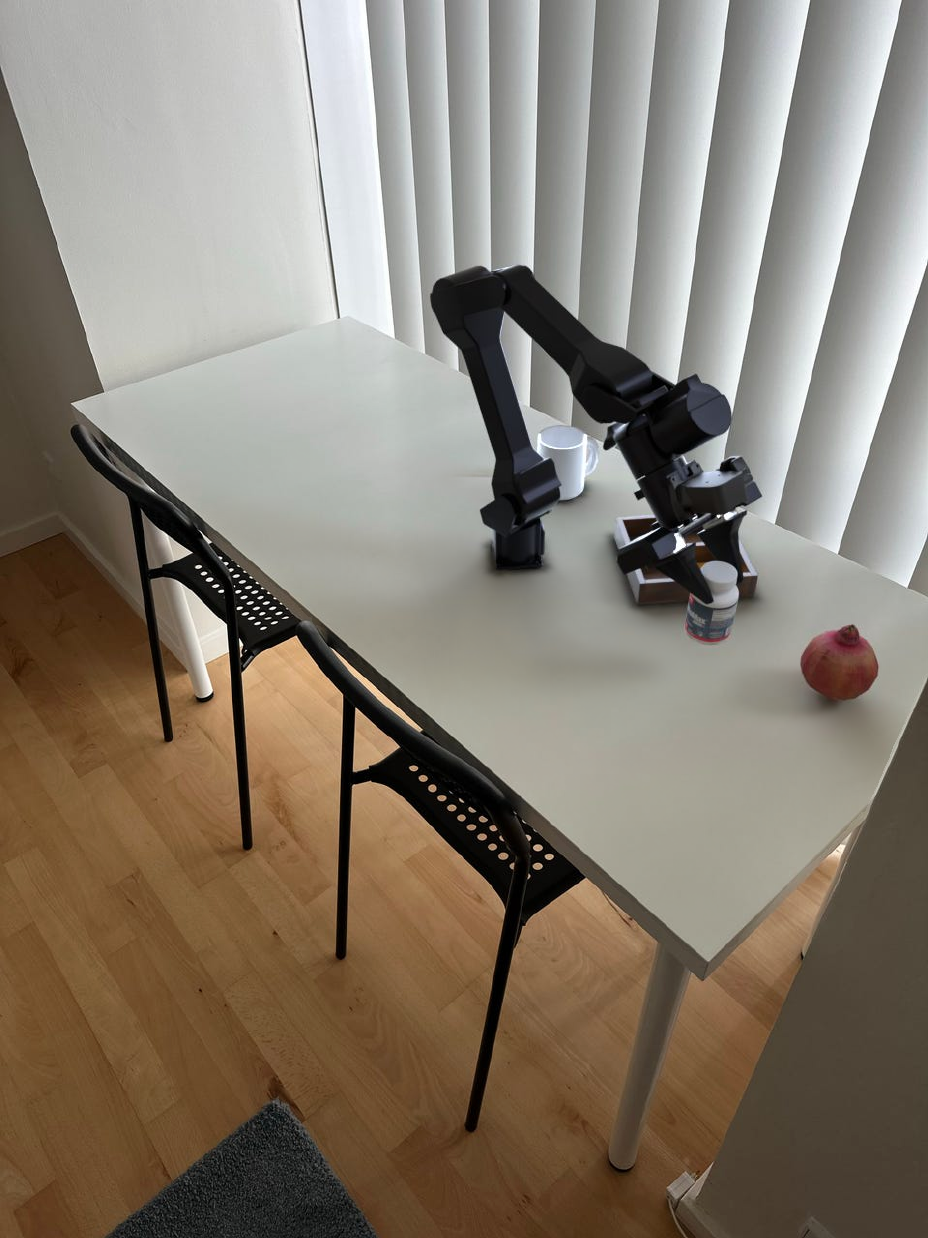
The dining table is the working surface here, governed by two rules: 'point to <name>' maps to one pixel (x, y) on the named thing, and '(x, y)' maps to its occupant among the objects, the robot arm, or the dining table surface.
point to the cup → (569, 456)
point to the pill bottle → (714, 605)
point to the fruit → (839, 664)
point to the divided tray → (658, 586)
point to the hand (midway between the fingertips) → (725, 593)
